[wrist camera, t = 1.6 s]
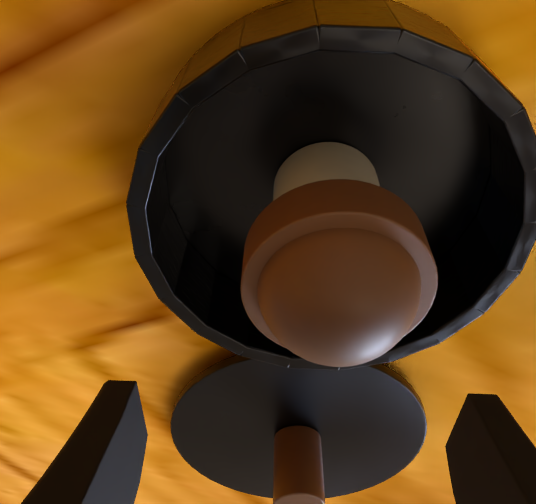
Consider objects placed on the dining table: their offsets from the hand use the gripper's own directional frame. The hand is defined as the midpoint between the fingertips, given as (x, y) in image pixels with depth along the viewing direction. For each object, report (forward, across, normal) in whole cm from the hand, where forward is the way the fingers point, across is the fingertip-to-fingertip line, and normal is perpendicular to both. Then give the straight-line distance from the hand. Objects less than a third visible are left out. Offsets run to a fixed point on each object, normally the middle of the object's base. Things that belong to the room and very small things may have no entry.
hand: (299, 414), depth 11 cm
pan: (+9, -1, -1) cm, 9 cm away
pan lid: (+9, -1, +14) cm, 16 cm away
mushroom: (+9, -1, -1) cm, 9 cm away
